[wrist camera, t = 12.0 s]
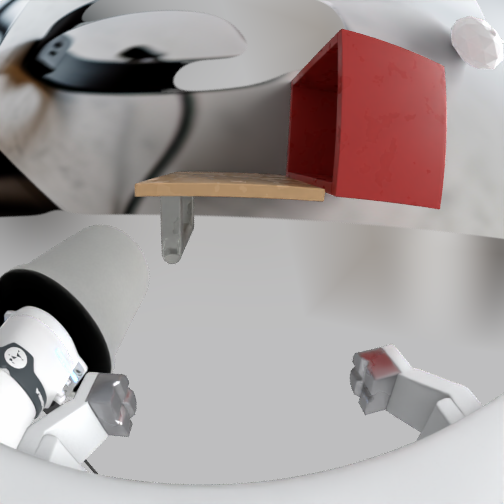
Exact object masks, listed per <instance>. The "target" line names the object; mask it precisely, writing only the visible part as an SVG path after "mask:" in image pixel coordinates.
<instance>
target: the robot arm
mask: <svg viewBox="0 0 504 504" xmlns="http://www.w3.org/2000/svg"><path fill="white" fill-rule="evenodd" d="M4 319H5V323H4V324H3V325H2V326H1V327H0V504H504V393H503V394H501V395H500V396H498V397H497V398H495V399H494V400H493V401H491V402H489V403H488V404H486V405H484V406H482V404H481V403H480V402H479V401H478V399H476V397H475V396H474V395H473V394H472V392H471V391H470V390H469V389H468V388H467V387H466V386H463V385H460V384H458V383H455V382H452V381H449V380H447V379H444V378H441V377H439V376H436V375H434V374H431V373H428V372H426V371H423V370H420V369H418V368H415V369H413V368H412V367H411V365H410V364H409V363H408V362H407V360H406V359H405V358H404V357H403V356H402V354H401V353H400V352H399V351H398V349H397V348H396V347H395V346H394V345H392V344H389V345H386V346H382V347H379V348H375V349H371V350H367V351H363V352H358V353H355V354H354V356H353V364H354V365H355V367H354V368H353V369H352V370H351V374H350V384H351V387H352V390H353V393H354V394H355V395H357V396H359V397H360V399H359V404H360V406H361V408H362V410H363V412H364V414H365V415H367V414H371V413H374V412H378V411H381V410H385V409H386V411H388V412H389V413H391V414H392V415H394V416H395V417H397V418H399V419H400V420H402V421H403V422H405V423H407V424H408V425H410V426H411V427H413V428H415V429H416V430H418V431H420V432H421V434H420V435H419V437H418V439H417V441H415V442H413V443H411V444H408V445H406V446H403V447H401V448H398V449H395V450H393V451H390V452H387V453H384V454H382V455H379V456H376V457H373V458H370V459H367V460H363V461H360V462H357V463H353V464H350V465H346V466H343V467H339V468H334V469H330V470H326V471H322V472H317V473H312V474H307V475H302V476H297V477H291V478H284V479H277V480H270V481H261V482H251V483H239V484H217V485H186V484H166V483H153V482H144V481H136V480H129V479H122V478H116V477H110V476H105V475H100V474H98V473H97V472H96V471H95V470H94V469H93V467H92V466H91V465H90V464H89V463H88V462H87V460H86V458H87V457H88V456H89V455H90V454H91V453H92V452H93V451H94V450H95V449H96V448H97V447H98V446H99V445H100V444H101V443H102V442H103V441H104V440H105V439H106V438H107V437H108V435H114V436H124V437H125V436H126V437H129V434H130V431H131V427H132V422H131V420H130V418H131V417H133V416H134V415H135V412H136V398H135V395H134V392H133V391H132V390H131V389H130V388H128V385H129V381H128V379H127V377H126V376H125V375H123V374H109V373H94V372H89V373H87V374H86V375H85V377H84V379H83V381H82V383H81V385H80V387H79V389H78V391H77V393H76V395H75V397H74V398H73V400H69V401H67V402H65V403H64V404H63V402H64V400H65V399H66V398H67V396H68V395H69V394H70V392H71V391H72V390H73V388H74V387H75V386H76V385H77V383H78V382H79V381H80V379H81V378H82V377H83V375H84V374H85V373H86V371H87V370H88V367H87V365H86V364H85V362H84V361H83V360H82V359H81V357H80V356H79V355H78V353H77V350H76V348H75V345H74V343H73V341H72V339H71V337H70V335H69V334H68V332H67V331H66V330H65V328H64V327H63V326H62V325H61V324H60V323H59V322H58V321H57V320H56V319H55V318H54V317H53V316H51V315H50V314H49V313H47V312H45V311H44V310H42V309H39V308H37V307H33V306H26V307H22V308H21V309H19V310H17V311H12V310H8V311H7V312H6V313H5V315H4ZM42 411H44V412H45V413H46V414H47V415H46V416H44V417H42V418H41V419H39V420H38V421H36V422H35V423H33V424H31V423H32V421H33V419H36V418H37V417H38V416H39V415H40V414H41V413H42ZM83 461H84V462H85V463H86V464H87V465H88V466H89V468H90V469H91V470H92V471H93V472H94V473H90V472H87V471H86V470H85V469H84V468H83V467H82V466H81V465H80V464H81V463H82V462H83Z"/></svg>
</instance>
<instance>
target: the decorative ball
mask: <svg viewBox="0 0 504 504" xmlns="http://www.w3.org/2000/svg"><path fill="white" fill-rule="evenodd" d="M451 39H452V45H453V46H454V48H455V49H456V51H457V53H458V54H459V56H460V57H461V59H462V60H464V61H465V62H466V63H467V64H469V65H470V66H472V67H475V68H477V69H494V68H495V67H496V66H497V65H498V64H499V63H500V62H501V61H502V60H503V46H502V45H503V44H504V41H503V40H502V39H500V38H499V36H498V34H497V32H496V31H495V30H494V29H493V28H492V27H491V26H490V25H489V24H488V23H487V22H486V21H485V20H483V19H479V18H475V17H472V16H467V17H464V18H461V19H458V20H456V22H455V23H454V25H453V26H452V28H451Z"/></svg>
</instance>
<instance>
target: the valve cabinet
mask: <svg viewBox="0 0 504 504" xmlns="http://www.w3.org/2000/svg"><path fill="white" fill-rule="evenodd" d="M446 131H447V103H446V81H445V68H444V66H443V65H441V64H439V63H436V62H434V61H432V60H430V59H428V58H426V57H423V56H421V55H419V54H416V53H414V52H411V51H409V50H406V49H404V48H401V47H399V46H396V45H393V44H390V43H388V42H385V41H382V40H379V39H376V38H373V37H369V36H366V35H363V34H359V33H356V32H352V31H349V30H345V29H341V30H340V31H339V32H338V33H337V34H336V35H335V36H334V37H333V38H332V39H331V40H330V41H329V42H328V43H327V44H326V45H325V46H324V47H323V48H322V49H321V50H320V51H319V52H318V53H317V54H316V55H315V56H314V57H313V59H312V60H311V61H310V62H309V63H308V64H307V65H306V66H305V67H304V68H303V69H302V70H301V71H300V72H299V74H298V75H297V76H296V77H295V78H294V79H293V80H292V81H291V96H290V116H289V134H288V151H287V166H286V177H289V178H292V179H296V180H299V181H302V182H305V183H308V184H311V185H314V186H317V187H320V188H323V189H325V193H328V194H331V195H333V196H336V197H346V198H356V199H365V200H374V201H383V202H391V203H399V204H407V205H414V206H421V207H428V208H435V209H440V204H441V196H442V188H443V179H444V168H445V155H446Z"/></svg>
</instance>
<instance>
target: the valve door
mask: <svg viewBox="0 0 504 504" xmlns="http://www.w3.org/2000/svg"><path fill="white" fill-rule="evenodd" d="M324 195H325V189H323V188H320V187H317V186H314V185H311V184H308V183H305V182H302V181H299V180H296V179H292V178H289V177H286V176H283V175H278V174H260V173H236V172H174V173H170V174H167V175H163V176H160V177H156V178H153V179H149V180H146V181H143V182H139V183H136V184H135V196H136V197H145V196H160V205H161V242H162V256H163V259H164V260H165V261H166V262H167V263H169V264H175V263H177V262H179V260H180V259H181V256H182V254H183V251H184V249H185V247H186V245H187V242H188V240H189V238H190V235H191V233H192V231H193V229H194V196H205V197H246V198H270V199H290V200H307V201H322V202H323V201H324Z"/></svg>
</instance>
